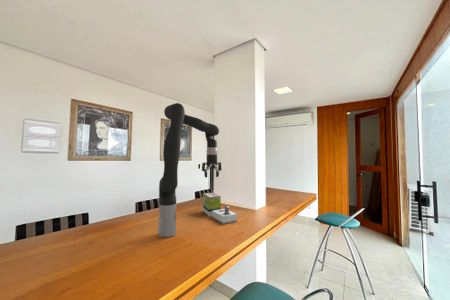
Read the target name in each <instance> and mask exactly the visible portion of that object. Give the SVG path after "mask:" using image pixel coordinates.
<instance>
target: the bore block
mask: <svg viewBox="0 0 450 300" xmlns="http://www.w3.org/2000/svg"><path fill="white" fill-rule="evenodd" d="M211 218H212V219H214V220H215V221H216V222H219V223H221V224H222V225H226V224H231V223H235V222H238V215H237V213H235V212H233V211H231V210H229V215H225V208H221V209H219V210H213V211H212V216H211Z"/></svg>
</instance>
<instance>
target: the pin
mask: <svg viewBox="0 0 450 300" xmlns="http://www.w3.org/2000/svg"><path fill="white" fill-rule="evenodd" d="M224 209H225V215H229V211H230V206H229V205H224Z"/></svg>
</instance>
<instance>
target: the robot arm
mask: <svg viewBox="0 0 450 300" xmlns="http://www.w3.org/2000/svg"><path fill="white" fill-rule="evenodd" d="M184 107H185V106H183V105H182V104H181V103H180V102H178V103H177V102H176V103H172V104H169V105H167V106H166V107H165V108H164V111H163V113H164V116H165V117H166V119H168V120H170V126H169V129H168V132H167V134H166V136H165V139H164V142H163V150H162V151H163V153H162V155H163V165H164V168H163V173H162V174H163V175H162V177H161V178H160V179H159V185H158V188H159V189H158V191H159V193H158V198H159V199H158V200H159V213H158V214H159V215H158V219H157V220H158V222H157V224H158V227H157V234H158V236H159V239H160V238H170V237H174V236H176V234H177V197H176V196H177V195H176V189H177V188H178V167H179V162H180V161H179V160H180V154H181V153H180V152H181V145H182V144H181V140H182V132H183V131H182V130H183V125H186V126H188V127H191V128H193V129H195V130H197V131H200V132H202V133H204V134H205V140H206V162H202V164H201V171H202V172H203V174H204V178H208V171H209V170H210V169H213V170H215V171H216V172H215V177H216V178H218V177H219V175H220V172H221V171H222V162H220V161H219V162H218V142H217V139H215V138H214V136H215V137H216V136H218V135H219V133H220V128H219V126H217V125H215V124H213V123H210V122H207V121H204V120H202V119H201V118H198V117H196V116H191V115H188V114H186V112H185V108H184Z"/></svg>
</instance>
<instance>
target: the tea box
mask: <svg viewBox="0 0 450 300" xmlns="http://www.w3.org/2000/svg"><path fill="white" fill-rule="evenodd" d="M221 201H222V200H221V195H219V194H217V193H215V192H206V193H202V211H203V213H205V214H206V215H207V216H208V217H212V211H213V210H219V209H222V205H221V204H222V203H221Z"/></svg>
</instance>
